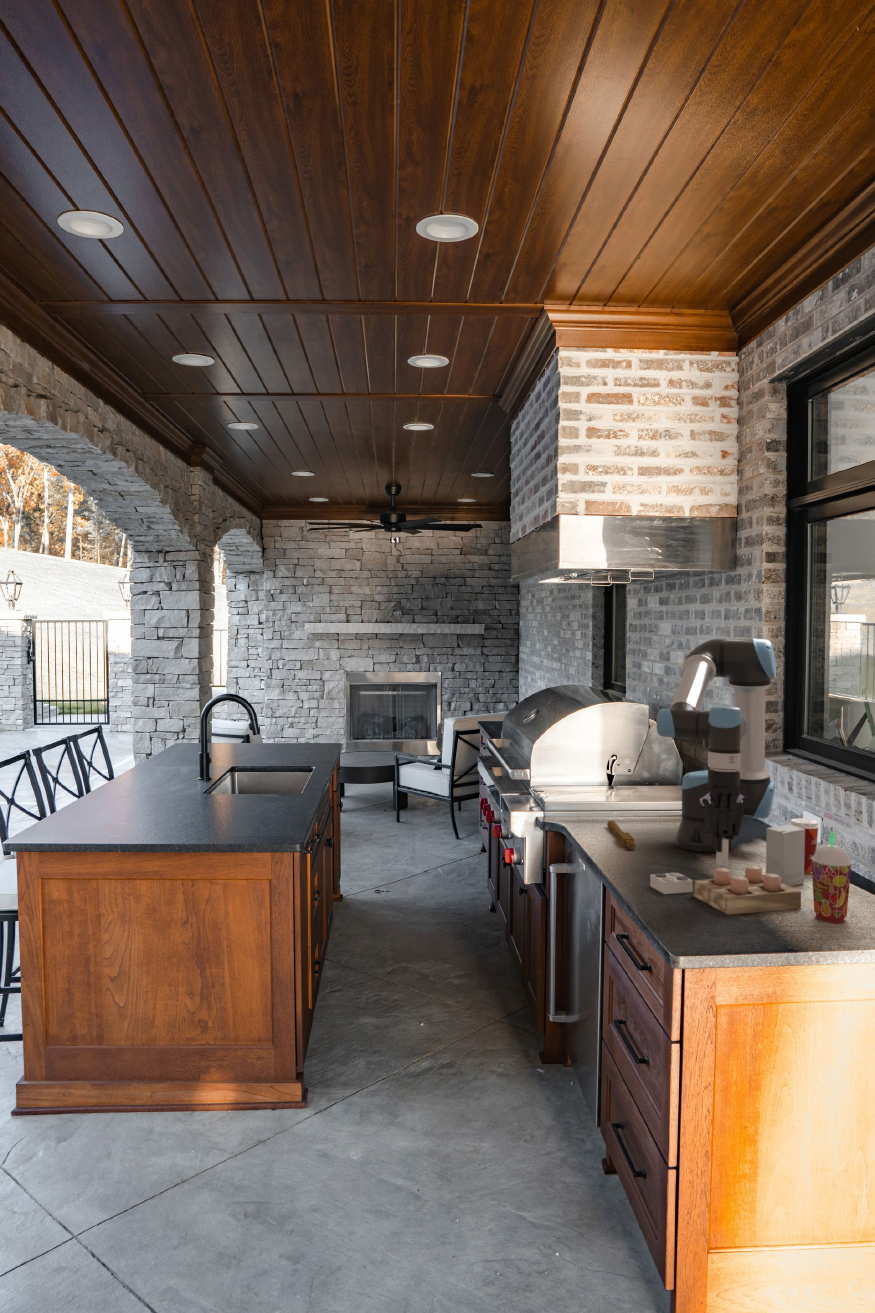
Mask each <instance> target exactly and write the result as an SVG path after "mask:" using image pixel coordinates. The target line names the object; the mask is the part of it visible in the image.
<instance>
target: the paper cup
mask: <svg viewBox="0 0 875 1313" xmlns="http://www.w3.org/2000/svg"><path fill="white" fill-rule="evenodd" d="M788 825H792V826H795V827H799V828H802V829H805V853H804V873H811V872H812V859H811V858H812V856H814V854H815V852H816V850H817V849H818V848H817V845H818V835H819V834H818V833H819V828H820V825H819V822H818V821H817V820H815V819H812V818H811V819H809V818H802V817H801V818H791V819H790V822H789V824H788ZM811 874H812V873H811Z"/></svg>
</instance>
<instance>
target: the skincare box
mask: <svg viewBox="0 0 875 1313" xmlns="http://www.w3.org/2000/svg"><path fill="white" fill-rule="evenodd" d="M765 840H766V843H765V844H766V846H765V851H766V852H765V874H767V873H771V874H777V875H779V876H780V877H781V883H783V884H785V885H787V886H789V887H794V886H797V885H802V884H805V874H804V853H805V829H802V828H799V827H795V826H792V825H789V824H783V825H777V826H772V827H766V839H765Z"/></svg>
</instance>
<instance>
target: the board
mask: <svg viewBox="0 0 875 1313" xmlns="http://www.w3.org/2000/svg"><path fill="white" fill-rule="evenodd" d="M763 875H764V874H762V883H757V884H750V883H748V894H747V895H735V894H733V893H731V892H730V887H731V886H717V885H715V884H713V878H706V879H695V880H693V897H695V898H697V899H698V900H700V901H702V902H703V903H706V905H707V904H708V905H709V906H712V907H713V908H714V909H717V910H718V911H720V912H722V913H723V914H725V915H728V916H729V915H740V914H751V913H762V912H773V911H775V912H776V911H785V910H786V911H787V910H795V909H796V910H797V909H801V908H802V907H801V906H802V891H801V890H798V889H796V888H794V887H793V886H787V885H785V884H783V883H781V892H771V893H769V892H767V891H765V890H763ZM743 877H745V875H744V876H743Z"/></svg>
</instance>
